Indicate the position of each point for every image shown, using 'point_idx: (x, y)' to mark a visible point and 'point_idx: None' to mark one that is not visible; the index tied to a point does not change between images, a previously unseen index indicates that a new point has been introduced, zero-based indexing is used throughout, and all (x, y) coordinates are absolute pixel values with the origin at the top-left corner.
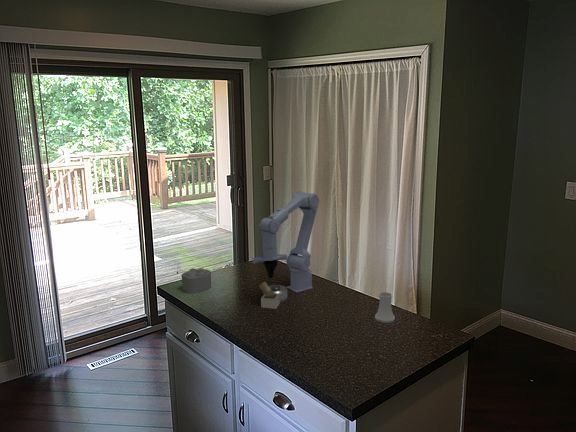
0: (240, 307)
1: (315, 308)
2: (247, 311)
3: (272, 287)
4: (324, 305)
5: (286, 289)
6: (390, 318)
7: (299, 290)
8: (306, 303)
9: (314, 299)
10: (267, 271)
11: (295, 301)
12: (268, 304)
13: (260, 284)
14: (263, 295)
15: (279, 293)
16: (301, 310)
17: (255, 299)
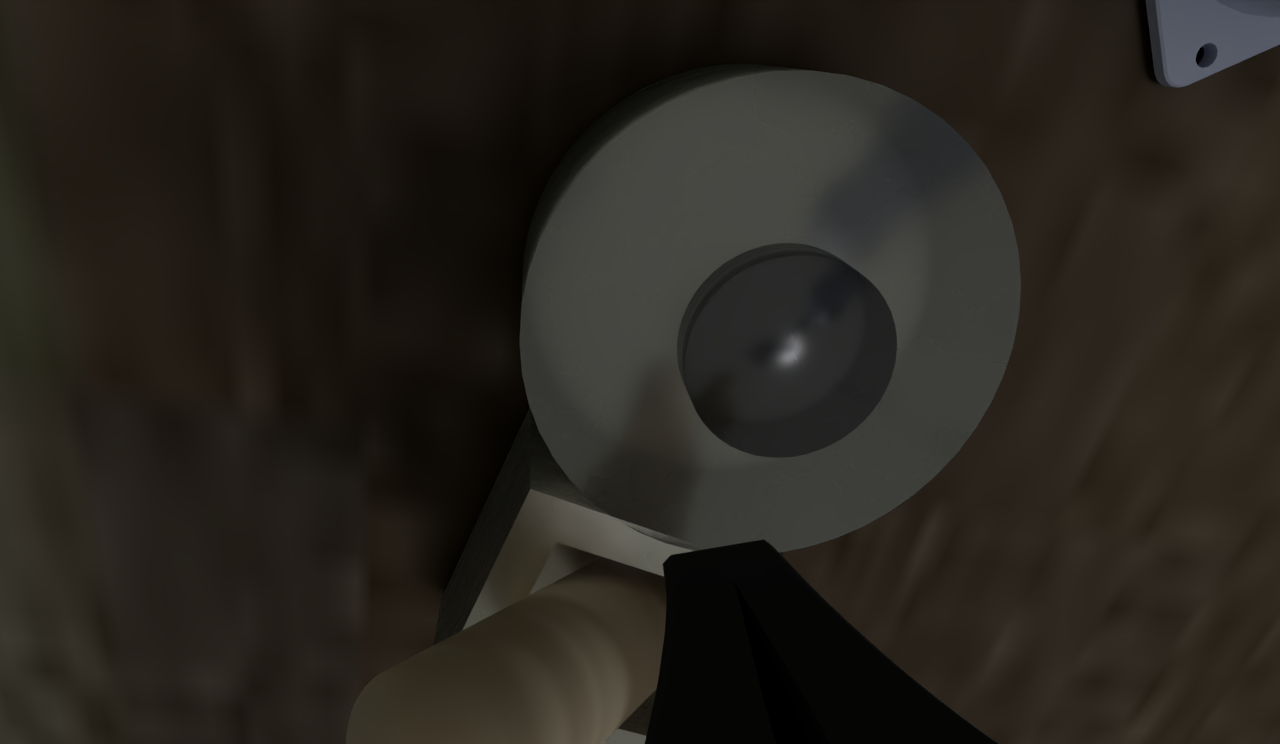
0: (100, 529)
1: (1114, 665)
2: (234, 663)
3: (716, 379)
4: (1252, 603)
5: (979, 395)
6: None
7: (1246, 40)
8: (1089, 523)
9: (1254, 413)
10: (671, 701)
11: (982, 439)
12: None
13: (396, 673)
14: (478, 609)
15: (791, 546)
16: (941, 697)
17: (356, 245)
